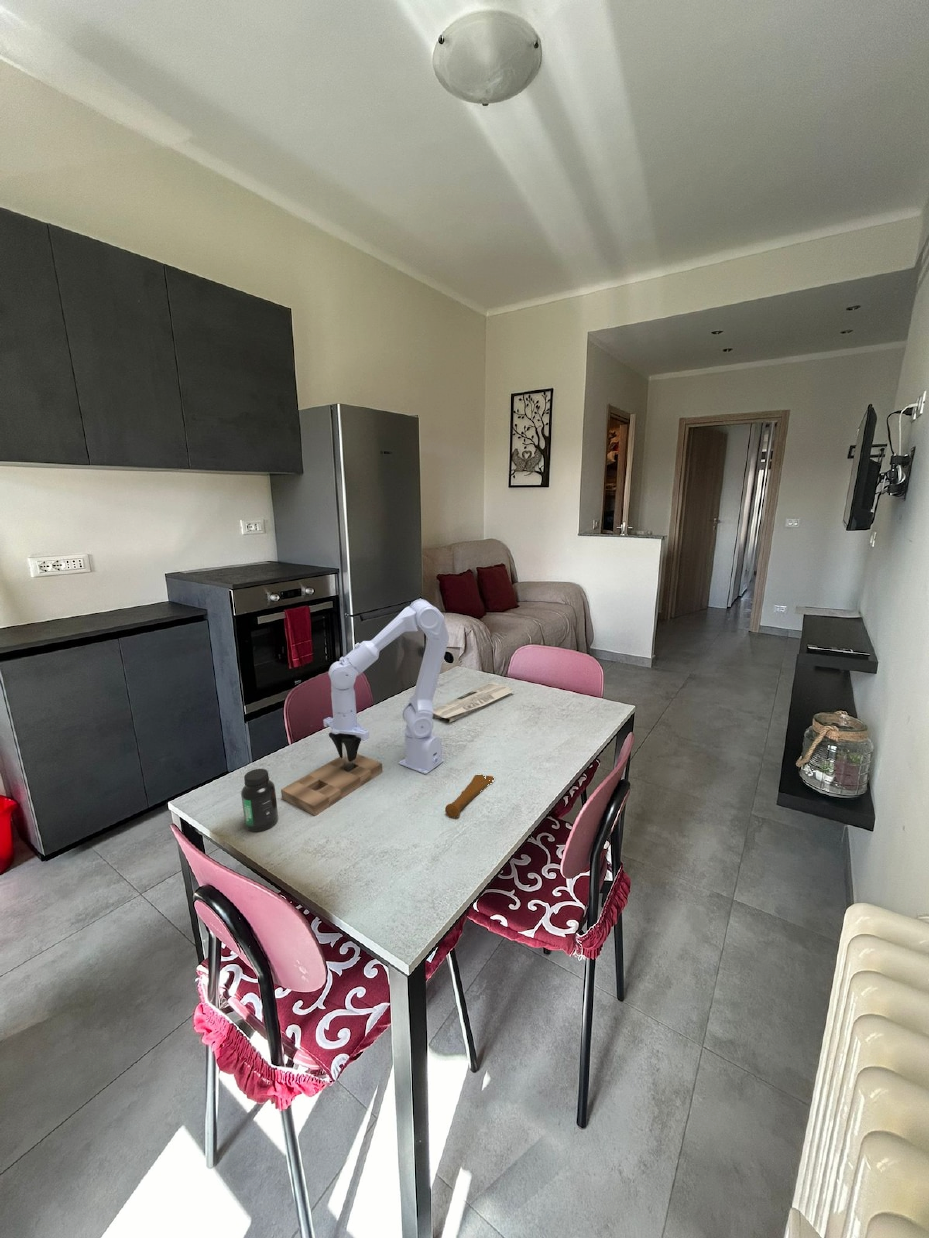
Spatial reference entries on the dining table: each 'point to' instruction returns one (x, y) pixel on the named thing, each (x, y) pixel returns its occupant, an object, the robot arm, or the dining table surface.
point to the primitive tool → (468, 795)
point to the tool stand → (330, 784)
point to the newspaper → (471, 701)
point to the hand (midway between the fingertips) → (348, 758)
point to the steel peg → (346, 760)
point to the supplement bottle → (259, 801)
